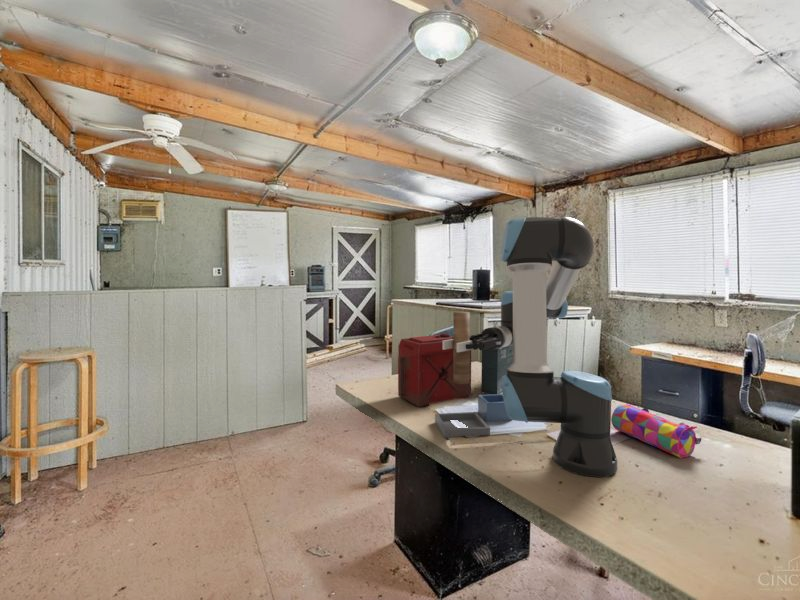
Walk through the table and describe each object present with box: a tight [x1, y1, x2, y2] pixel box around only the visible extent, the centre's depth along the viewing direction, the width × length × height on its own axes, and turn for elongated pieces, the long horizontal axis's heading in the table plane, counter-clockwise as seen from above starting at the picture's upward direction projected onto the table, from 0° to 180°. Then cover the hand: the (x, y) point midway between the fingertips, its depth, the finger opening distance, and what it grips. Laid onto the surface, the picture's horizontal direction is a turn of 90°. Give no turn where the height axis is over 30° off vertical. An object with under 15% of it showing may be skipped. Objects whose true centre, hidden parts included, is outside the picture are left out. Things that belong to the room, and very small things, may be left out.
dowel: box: [452, 311, 471, 384], centre depth 122 cm, size 5×5×22 cm
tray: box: [434, 411, 491, 441], centre depth 124 cm, size 14×14×3 cm
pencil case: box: [611, 404, 702, 459], centre depth 113 cm, size 22×9×9 cm, turn 24°
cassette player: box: [480, 345, 513, 395], centre depth 172 cm, size 29×7×20 cm, turn 143°
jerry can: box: [397, 333, 472, 408], centre depth 155 cm, size 30×16×25 cm, turn 118°
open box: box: [477, 393, 513, 422], centre depth 133 cm, size 9×9×7 cm
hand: (450, 346), depth 119 cm, fingers closed on dowel, 5 cm apart
